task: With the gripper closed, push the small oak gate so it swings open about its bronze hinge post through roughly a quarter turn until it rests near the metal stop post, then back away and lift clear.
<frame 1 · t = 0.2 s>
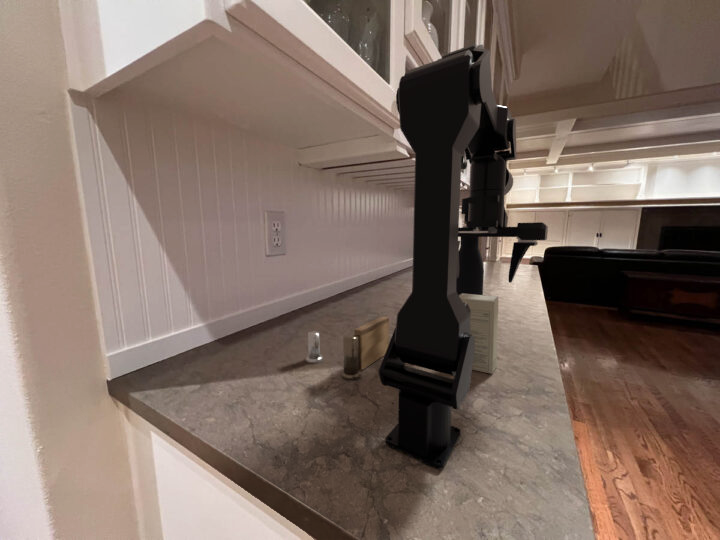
hand: (482, 279, 53), 14 cm above the countertop, tool pointing down, fingers open, 9 cm apart
hinge post: (351, 375, 47), on the countertop
wine bottle: (465, 333, 67), on the countertop
gate: (372, 341, 52), point 4 cm above the countertop, hinge at 0.0°
skincare box: (474, 366, 50), on the countertop
stop post: (314, 359, 53), on the countertop
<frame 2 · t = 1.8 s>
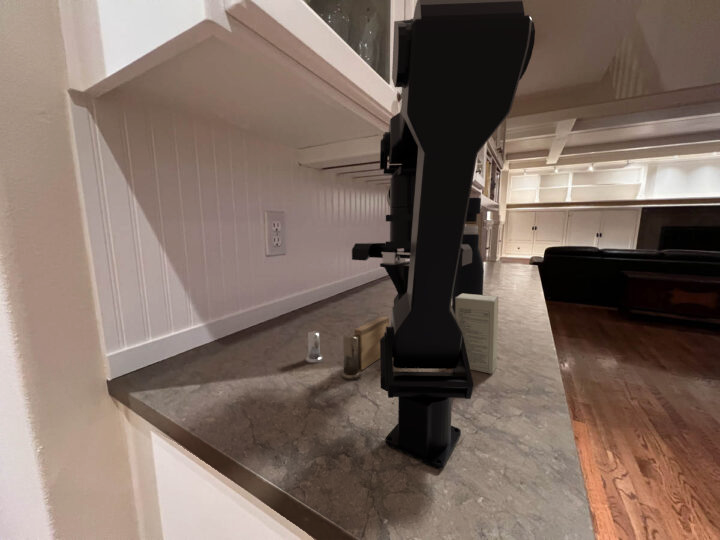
hand: (406, 305, 47), 11 cm above the countertop, tool pointing down, fingers closed
nothing on the countertop moved.
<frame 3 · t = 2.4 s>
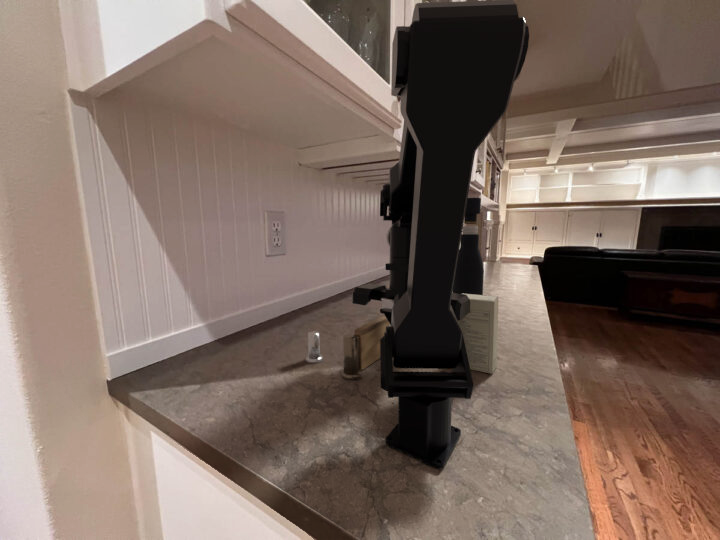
hand: (406, 349, 48), 3 cm above the countertop, tool pointing down, fingers closed
nothing on the countertop moved.
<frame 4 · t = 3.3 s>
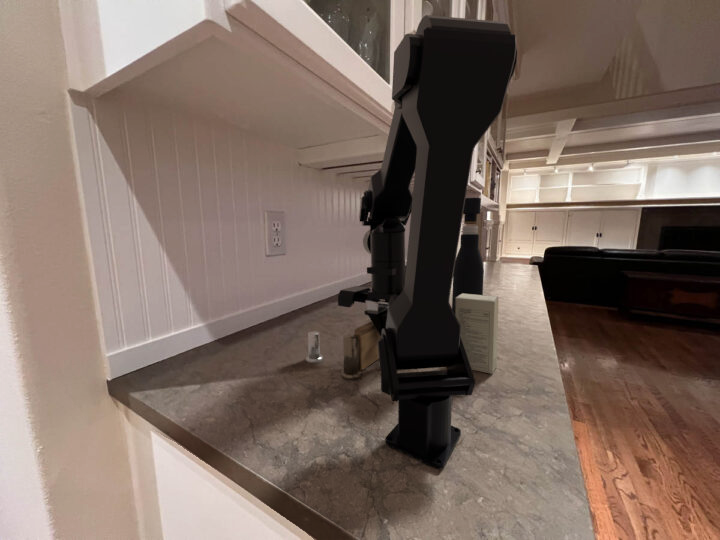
hand: (389, 349, 51), 3 cm above the countertop, tool pointing down, fingers closed
gate: (372, 341, 52), point 4 cm above the countertop, hinge at 0.3°, touching gripper
everything else where it was.
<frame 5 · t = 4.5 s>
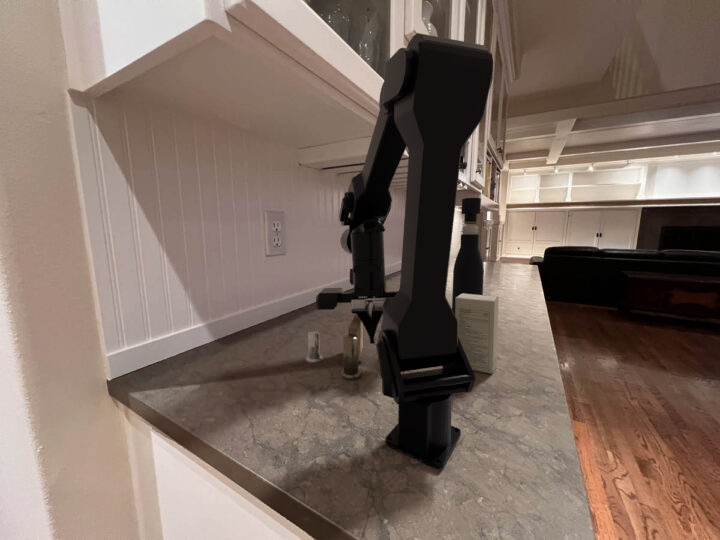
hand: (372, 342, 53), 3 cm above the countertop, tool pointing down, fingers closed
gate: (356, 339, 53), point 4 cm above the countertop, hinge at 28.9°, touching gripper
everything else where it was.
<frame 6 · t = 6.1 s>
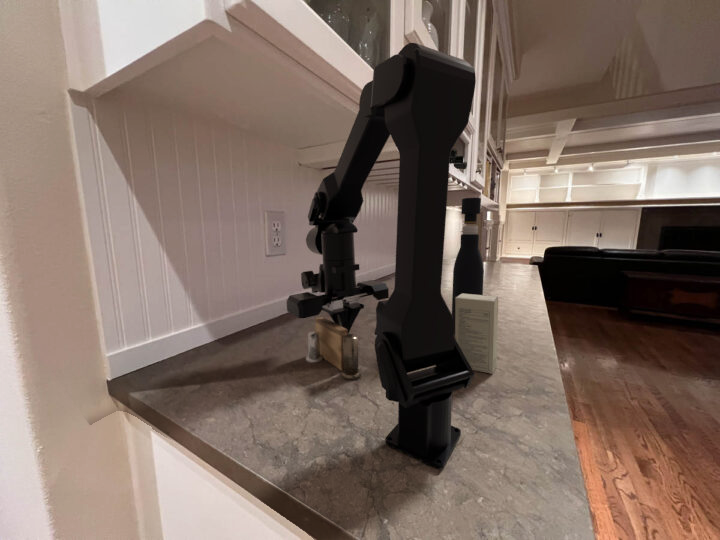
hand: (343, 341, 54), 3 cm above the countertop, tool pointing down, fingers closed
gate: (331, 342, 52), point 4 cm above the countertop, hinge at 70.9°, touching gripper, stop post
everything else where it was.
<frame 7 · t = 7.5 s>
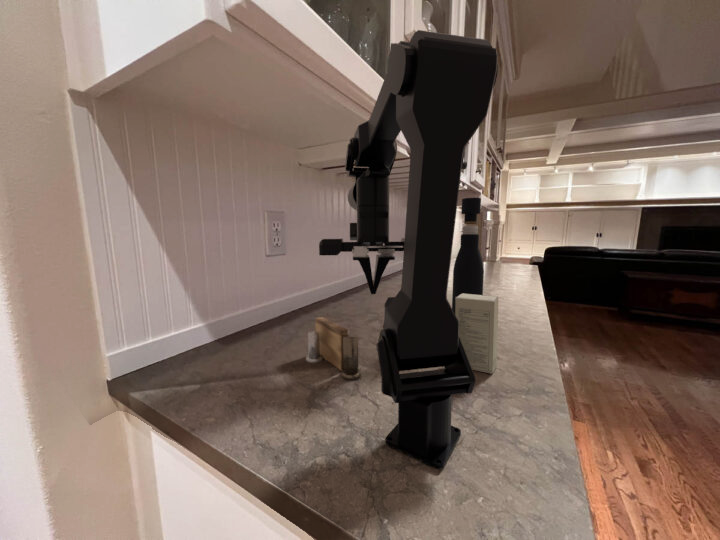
hand: (373, 293, 53), 12 cm above the countertop, tool pointing down, fingers closed
gate: (331, 342, 52), point 4 cm above the countertop, hinge at 70.9°, touching stop post
everything else where it was.
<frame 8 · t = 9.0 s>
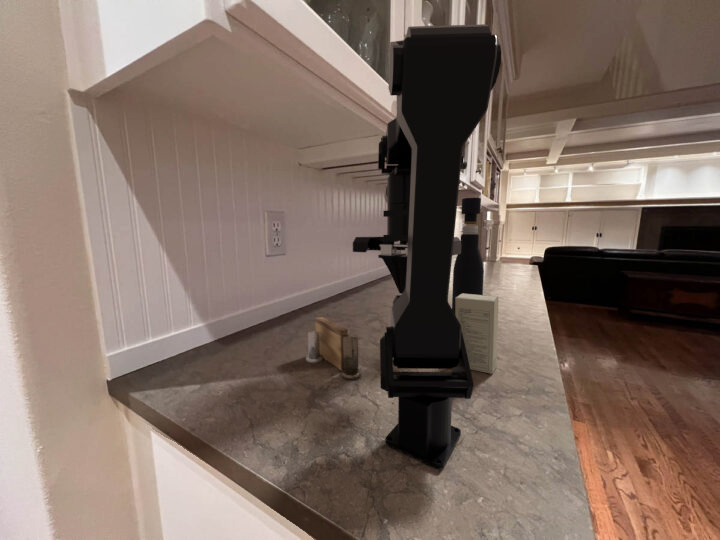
hand: (402, 293, 52), 12 cm above the countertop, tool pointing down, fingers closed
nothing on the countertop moved.
at the end: gate at +71° (first picture: +0°) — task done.
